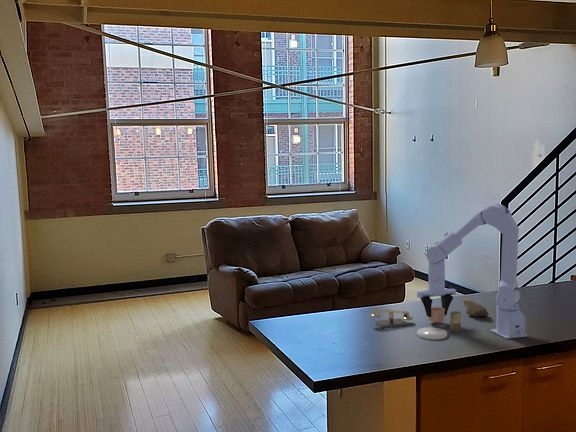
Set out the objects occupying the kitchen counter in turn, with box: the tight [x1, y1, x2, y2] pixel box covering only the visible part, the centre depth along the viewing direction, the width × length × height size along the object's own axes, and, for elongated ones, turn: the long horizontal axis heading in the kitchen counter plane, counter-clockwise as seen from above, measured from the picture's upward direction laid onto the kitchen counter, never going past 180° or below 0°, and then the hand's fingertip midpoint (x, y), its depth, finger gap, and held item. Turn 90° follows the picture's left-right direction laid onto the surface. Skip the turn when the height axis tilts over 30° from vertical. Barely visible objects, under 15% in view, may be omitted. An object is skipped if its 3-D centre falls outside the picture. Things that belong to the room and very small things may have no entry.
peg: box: [450, 310, 462, 333], centre depth 204 cm, size 3×3×6 cm
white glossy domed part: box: [416, 326, 448, 341], centre depth 200 cm, size 10×10×1 cm
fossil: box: [463, 298, 489, 318], centre depth 221 cm, size 9×4×10 cm
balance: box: [368, 308, 414, 329], centre depth 213 cm, size 6×17×6 cm, turn 103°
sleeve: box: [428, 306, 446, 323], centre depth 213 cm, size 6×6×4 cm
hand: (436, 315), depth 213 cm, fingers closed on sleeve, 6 cm apart
